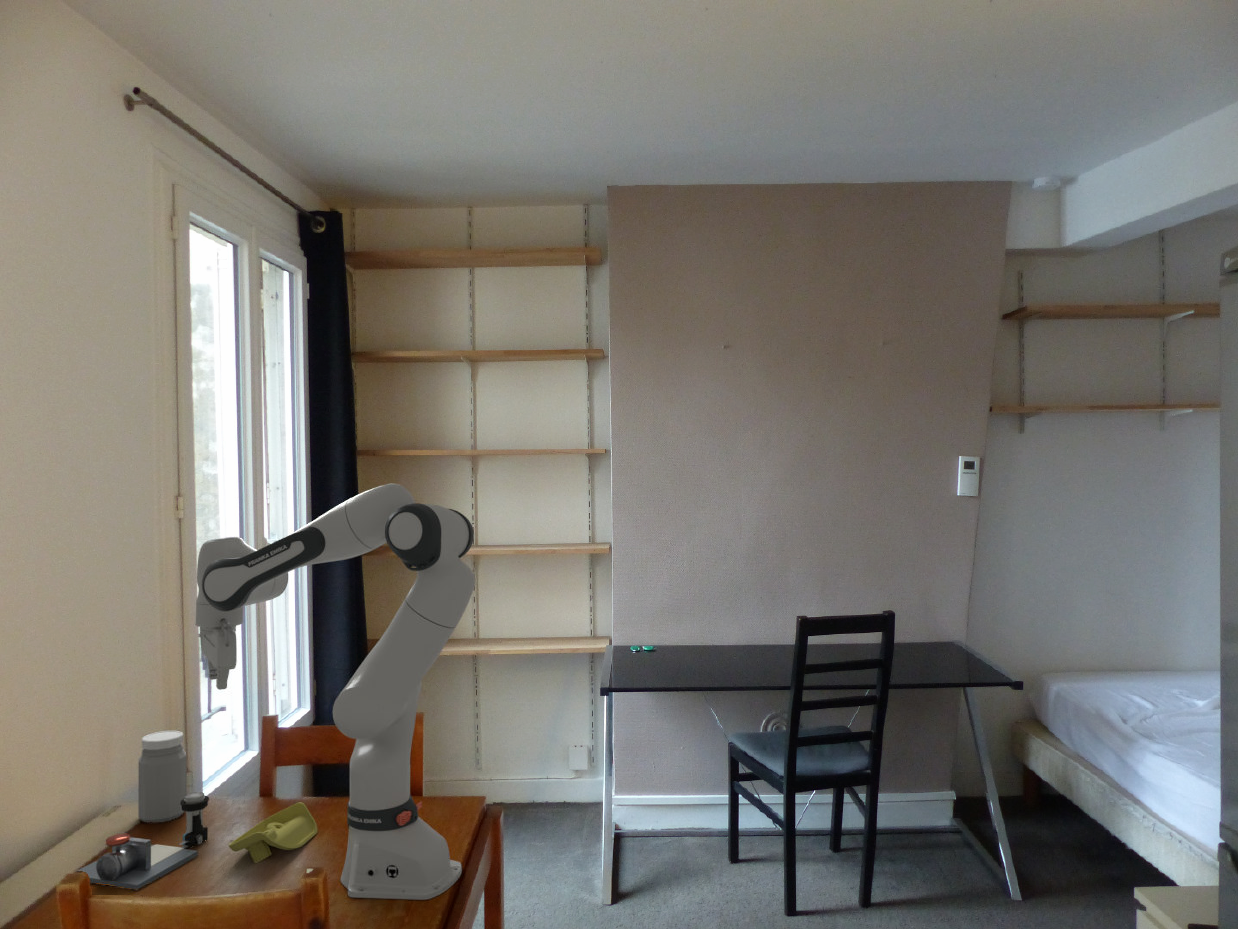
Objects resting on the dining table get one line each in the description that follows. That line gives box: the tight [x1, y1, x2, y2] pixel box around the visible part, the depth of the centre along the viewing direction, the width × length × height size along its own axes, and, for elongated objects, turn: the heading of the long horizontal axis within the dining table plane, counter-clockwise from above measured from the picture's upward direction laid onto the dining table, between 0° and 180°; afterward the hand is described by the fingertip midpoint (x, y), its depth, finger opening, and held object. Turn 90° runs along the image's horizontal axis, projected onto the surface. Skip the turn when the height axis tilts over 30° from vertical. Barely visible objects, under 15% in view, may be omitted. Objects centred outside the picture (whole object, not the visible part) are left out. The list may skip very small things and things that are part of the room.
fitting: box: [96, 833, 152, 882], centre depth 163 cm, size 8×6×7 cm
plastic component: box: [227, 801, 319, 864], centre depth 175 cm, size 20×7×10 cm
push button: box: [178, 791, 210, 849], centre depth 178 cm, size 7×5×10 cm
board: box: [74, 844, 199, 890], centre depth 167 cm, size 16×15×1 cm
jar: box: [137, 730, 187, 824], centre depth 193 cm, size 10×10×18 cm
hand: (217, 683), depth 176 cm, fingers open, 8 cm apart
